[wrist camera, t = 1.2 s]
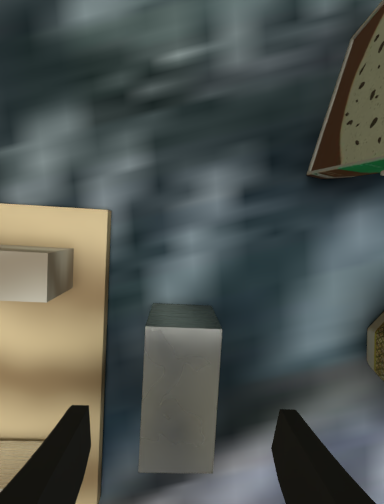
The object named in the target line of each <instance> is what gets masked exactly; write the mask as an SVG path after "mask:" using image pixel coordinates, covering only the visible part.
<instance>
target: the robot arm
mask: <svg viewBox="0 0 384 504" xmlns="http://www.w3.org/2000/svg"><path fill="white" fill-rule="evenodd" d="M90 449H91V433H90V415H89V405H72V406H70V407H69V408H68V410H67V411H66V413H65V414H64V415H63V417H62V418H61V419H60V421H59V422H58V423H57V425H56V426H55V427H54V429H53V430H52V431H51V433H50V434H49V435H48V436H47V438H46V439H45V440H44V442H43V443H42V444H41V445H40V447H39V448H38V449H37V450H36V451H35V453H34V454H33V455H32V456H31V458H30V459H29V460H28V461H27V462H26V464H25V465H24V466H23V467H22V468H21V469H20V471H19V472H18V473H17V474H16V475H15V476H14V477H13V478H12V480H11V481H10V482H9V483H8V484H7V485H6V486H5V487H4V489H3V490H2V491H1V492H0V504H75V503H76V500H77V497H78V494H79V491H80V488H81V485H82V482H83V479H84V475H85V471H86V466H87V462H88V458H89V453H90ZM271 449H272V453H273V458H274V463H275V468H276V472H277V476H278V480H279V484H280V487H281V490H282V493H283V496H284V499H285V502H286V504H376V503H375V502H374V501H373V500H372V499H371V498H370V497H369V496H368V495H367V494H366V493H365V492H364V491H363V489H362V488H361V487H360V486H359V485H358V484H357V483H356V482H355V481H354V480H353V478H352V477H351V476H350V475H349V474H348V473H347V472H346V471H345V469H344V468H343V467H342V466H341V465H340V464H339V462H338V461H337V460H336V459H335V458H334V457H333V455H332V454H331V453H330V452H329V451H328V449H327V448H326V447H325V446H324V445H323V443H322V442H321V441H320V440H319V438H318V437H317V436H316V435H315V433H314V432H313V431H312V430H311V428H310V427H309V426H308V425H307V423H306V422H305V421H304V420H303V418H302V417H301V416H300V415H299V413H298V412H297V411H296V410H286V409H280V411H279V416H278V420H277V425H276V430H275V434H274V439H273V443H272V448H271Z"/></svg>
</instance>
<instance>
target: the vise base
mask: <svg viewBox="0 0 384 504" xmlns="http://www.w3.org/2000/svg"><path fill="white" fill-rule="evenodd" d="M110 230H111V211H109V210H99V209H82V208H66V207H50V206H33V205H17V204H1V203H0V441H44V440H45V439H46V438H47V436H48V435H49V434H50V433H51V431H52V430H53V429H54V427H55V426H56V425H57V423H58V422H59V421H60V419H61V418H62V417H63V415H64V414H65V413H66V411H67V410H68V408H69V407H70V406H72V405H89V415H90V433H91V449H90V453H89V458H88V462H87V466H86V471H85V475H84V479H83V482H82V485H81V488H80V491H79V494H78V497H77V500H76V503H75V504H98V503H99V500H100V494H101V468H102V441H103V415H104V389H105V362H106V336H107V309H108V283H109V257H110Z"/></svg>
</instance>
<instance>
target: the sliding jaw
mask: <svg viewBox="0 0 384 504" xmlns="http://www.w3.org/2000/svg"><path fill="white" fill-rule="evenodd" d="M43 442H44V441H0V492H1V491H2V490H3V489H4V487H5V486H6V485H7V484H8V483H9V482H10V481H11V480H12V478H13V477H14V476H15V475H16V474H17V473H18V472H19V471H20V469H21V468H22V467H23V466H24V465H25V464H26V462H27V461H28V460H29V459H30V458H31V456H32V455H33V454H34V453H35V451H36V450H37V449H38V448H39V447H40V445H41V444H42V443H43Z"/></svg>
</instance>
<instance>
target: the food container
mask: <svg viewBox="0 0 384 504" xmlns="http://www.w3.org/2000/svg"><path fill="white" fill-rule="evenodd" d="M376 173H381V174H380V175H383V176H384V0H383V1H382V2H381V3H380V4H379V5H378V7H377V8H376V9H375V10H374V11H373V13H372V14H371V15H370V16H369V17H368V18H367V20H366V21H365V22H364V23H363V24H362V26H361V27H360V28H359V29H358V30H357V32H356V33H355V34H354V35H353V36H352V38H351V40H350V43H349V46H348V49H347V52H346V55H345V58H344V61H343V64H342V67H341V70H340V73H339V77H338V80H337V83H336V86H335V89H334V92H333V95H332V98H331V101H330V104H329V107H328V110H327V113H326V116H325V119H324V123H323V126H322V129H321V132H320V135H319V138H318V141H317V144H316V147H315V150H314V153H313V156H312V159H311V162H310V165H309V169H308V172H307V176H311V177H316V178H320V179H333V178H347V177H354V176H361V175H368V174H376Z"/></svg>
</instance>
